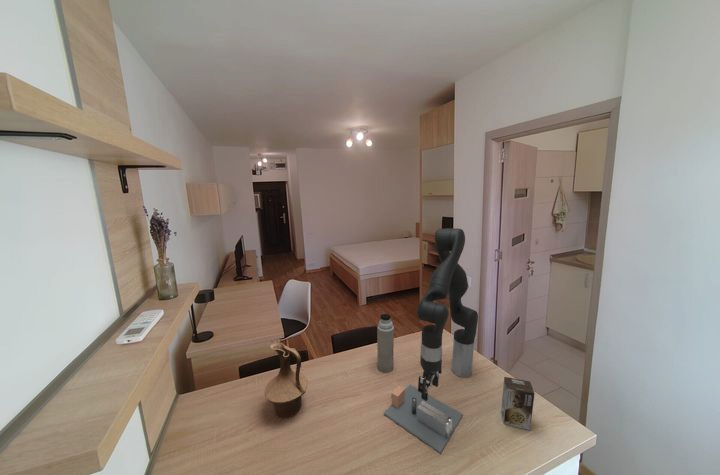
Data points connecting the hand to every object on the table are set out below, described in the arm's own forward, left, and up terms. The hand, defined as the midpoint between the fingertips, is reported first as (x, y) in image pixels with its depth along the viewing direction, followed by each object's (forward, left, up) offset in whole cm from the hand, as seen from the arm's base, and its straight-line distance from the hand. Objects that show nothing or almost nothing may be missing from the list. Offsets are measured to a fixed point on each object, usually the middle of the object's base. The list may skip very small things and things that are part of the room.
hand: (429, 392), depth 99 cm
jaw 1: (-1, +2, -13) cm, 13 cm away
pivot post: (0, -6, -14) cm, 15 cm away
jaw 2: (+1, +2, -13) cm, 13 cm away
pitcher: (+31, -47, -14) cm, 58 cm away
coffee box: (-23, +25, -14) cm, 36 cm away
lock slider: (0, -14, -13) cm, 19 cm away
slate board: (-2, -3, -14) cm, 14 cm away
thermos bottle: (-15, -31, -14) cm, 37 cm away
